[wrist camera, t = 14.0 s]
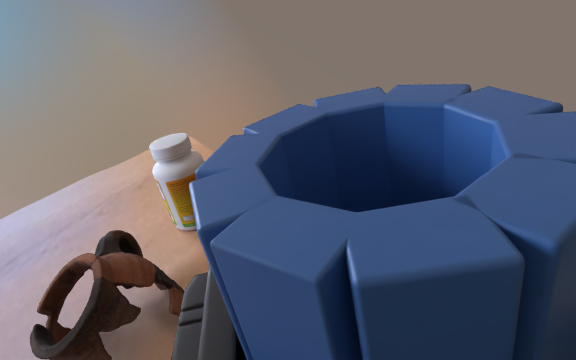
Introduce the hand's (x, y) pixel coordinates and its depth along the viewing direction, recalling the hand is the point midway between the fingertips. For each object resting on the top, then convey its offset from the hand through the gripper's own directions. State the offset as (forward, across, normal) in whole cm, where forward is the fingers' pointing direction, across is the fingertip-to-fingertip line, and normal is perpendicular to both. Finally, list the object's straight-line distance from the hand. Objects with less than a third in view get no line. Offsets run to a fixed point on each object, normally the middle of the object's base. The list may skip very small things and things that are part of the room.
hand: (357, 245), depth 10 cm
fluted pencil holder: (-2, 0, +6) cm, 6 cm away
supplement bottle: (+29, +12, +15) cm, 35 cm away
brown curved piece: (+15, +17, +16) cm, 27 cm away
